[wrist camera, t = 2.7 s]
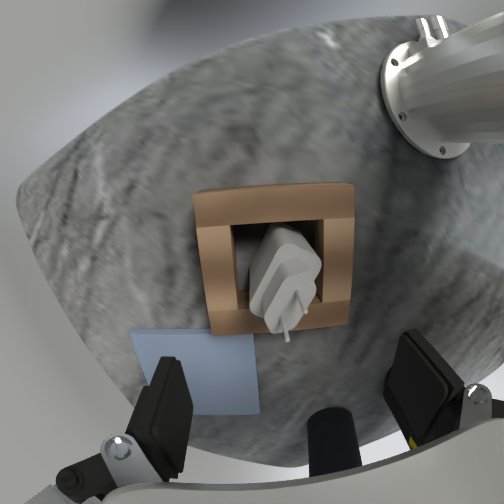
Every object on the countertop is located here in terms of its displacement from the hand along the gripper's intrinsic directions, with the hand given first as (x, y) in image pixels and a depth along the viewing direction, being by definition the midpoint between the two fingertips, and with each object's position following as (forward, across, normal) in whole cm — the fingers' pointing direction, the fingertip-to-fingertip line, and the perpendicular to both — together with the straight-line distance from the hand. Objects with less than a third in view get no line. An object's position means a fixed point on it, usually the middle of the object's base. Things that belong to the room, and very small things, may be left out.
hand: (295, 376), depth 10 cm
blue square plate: (+15, +8, +13) cm, 22 cm away
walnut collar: (+15, -1, -1) cm, 15 cm away
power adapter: (+15, -1, -1) cm, 15 cm away
